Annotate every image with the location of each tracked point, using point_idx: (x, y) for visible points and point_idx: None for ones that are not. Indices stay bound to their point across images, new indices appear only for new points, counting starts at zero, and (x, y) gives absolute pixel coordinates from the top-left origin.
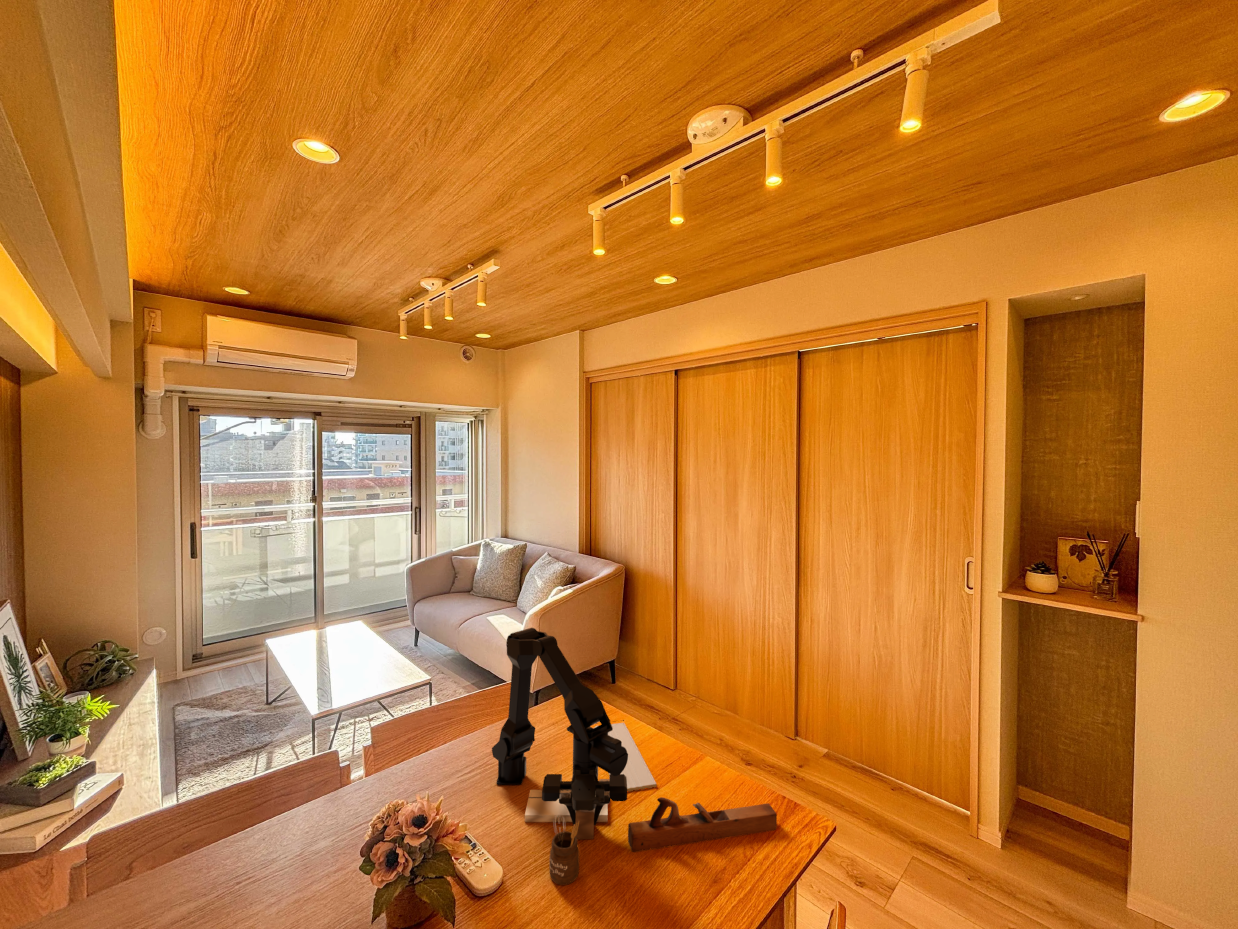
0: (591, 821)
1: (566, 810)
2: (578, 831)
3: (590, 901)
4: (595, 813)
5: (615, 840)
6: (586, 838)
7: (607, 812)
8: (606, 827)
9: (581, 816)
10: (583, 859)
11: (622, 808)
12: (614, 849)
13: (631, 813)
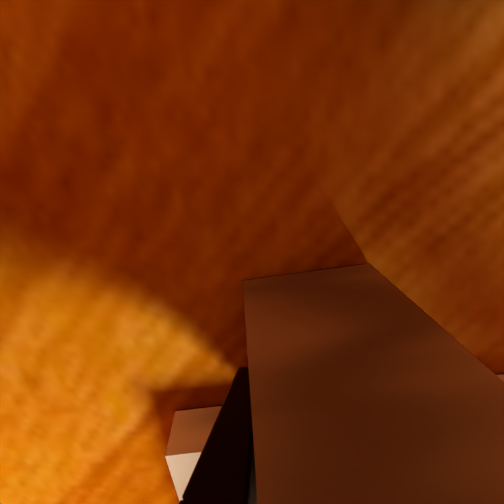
0: (279, 383)
1: None
2: (377, 297)
3: None
4: (238, 494)
5: (83, 286)
6: (293, 276)
7: (170, 472)
8: (173, 376)
9: (454, 434)
10: (304, 59)
11: (113, 491)
12: (63, 200)
13: (53, 473)
